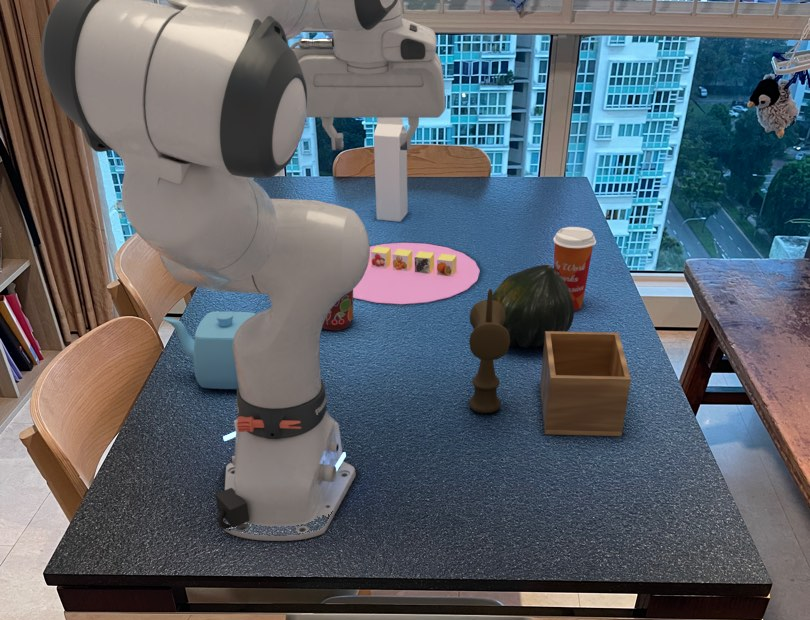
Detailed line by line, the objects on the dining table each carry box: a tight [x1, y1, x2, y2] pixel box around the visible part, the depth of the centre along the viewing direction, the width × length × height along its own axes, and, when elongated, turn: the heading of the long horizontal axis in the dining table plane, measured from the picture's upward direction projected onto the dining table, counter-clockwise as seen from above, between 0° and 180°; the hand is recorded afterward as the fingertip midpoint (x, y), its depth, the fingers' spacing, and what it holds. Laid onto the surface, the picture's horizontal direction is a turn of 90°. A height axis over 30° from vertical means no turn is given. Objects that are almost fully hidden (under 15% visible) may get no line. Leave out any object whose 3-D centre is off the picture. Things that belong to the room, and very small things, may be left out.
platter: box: [353, 242, 481, 306], centre depth 182 cm, size 32×32×3 cm
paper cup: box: [553, 226, 597, 312], centre depth 165 cm, size 8×8×14 cm
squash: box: [493, 264, 575, 349], centre depth 155 cm, size 14×15×15 cm
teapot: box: [162, 311, 257, 390], centre depth 146 cm, size 12×18×12 cm
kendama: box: [468, 288, 510, 414], centre depth 135 cm, size 6×10×20 cm, turn 178°
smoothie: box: [322, 290, 354, 331], centre depth 159 cm, size 8×8×20 cm
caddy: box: [539, 331, 632, 437], centre depth 137 cm, size 15×12×10 cm
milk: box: [373, 118, 409, 223], centre depth 202 cm, size 6×6×22 cm
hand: (371, 148), depth 122 cm, fingers open, 8 cm apart
